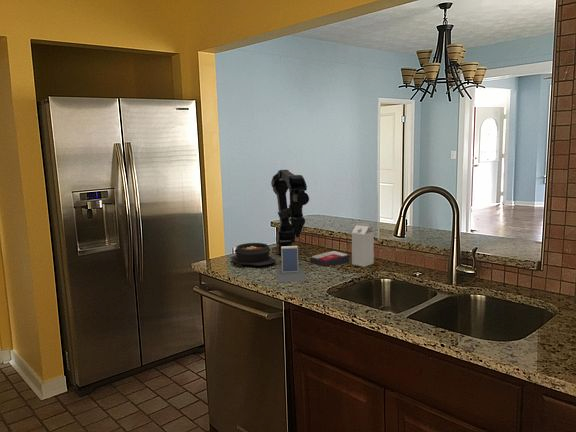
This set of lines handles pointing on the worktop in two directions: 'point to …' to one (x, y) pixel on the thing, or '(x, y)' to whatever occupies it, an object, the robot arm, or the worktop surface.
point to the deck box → (289, 258)
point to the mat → (291, 276)
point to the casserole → (253, 254)
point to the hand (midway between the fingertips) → (296, 235)
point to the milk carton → (362, 245)
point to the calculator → (330, 258)
